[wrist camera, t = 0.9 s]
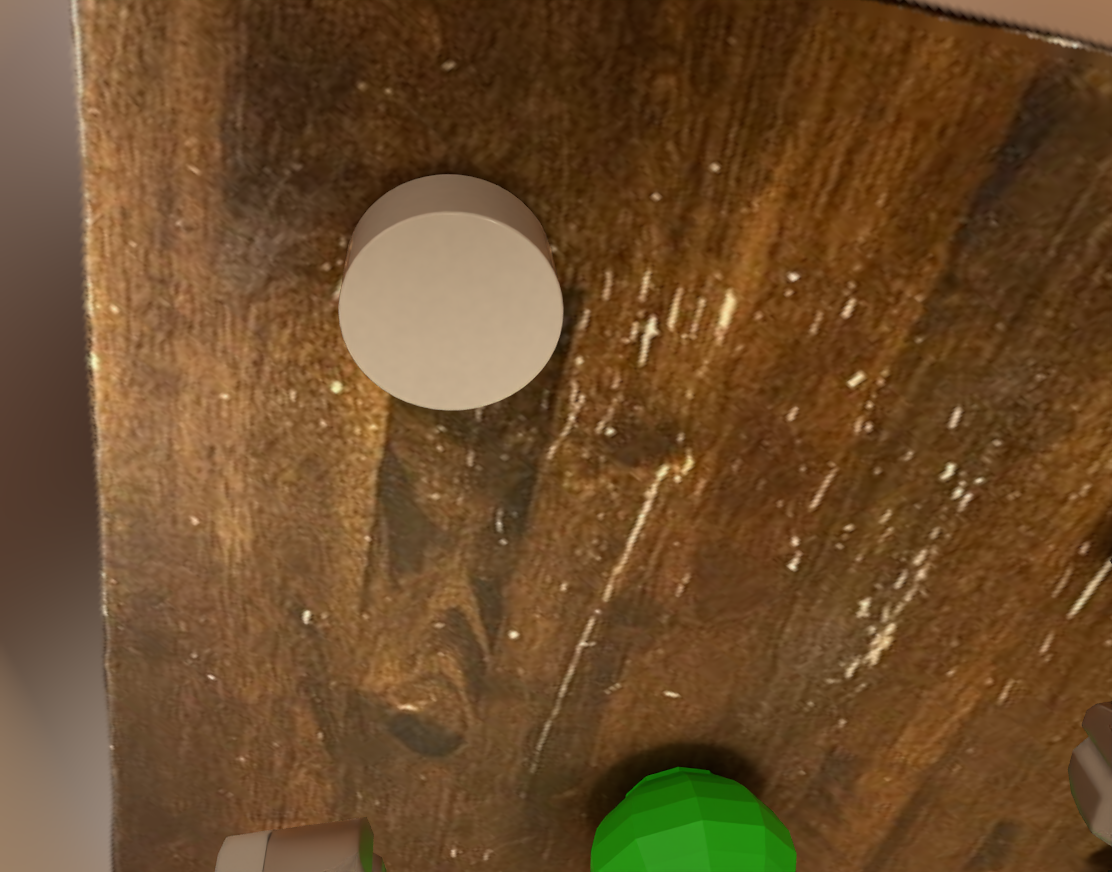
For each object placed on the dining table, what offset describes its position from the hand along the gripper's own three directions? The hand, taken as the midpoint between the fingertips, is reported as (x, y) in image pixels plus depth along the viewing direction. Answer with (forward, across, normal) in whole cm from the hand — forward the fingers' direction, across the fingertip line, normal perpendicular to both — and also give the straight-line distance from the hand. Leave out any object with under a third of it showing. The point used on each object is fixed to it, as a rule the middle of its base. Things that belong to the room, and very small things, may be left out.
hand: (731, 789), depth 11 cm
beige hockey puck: (+22, +3, +4) cm, 23 cm away
